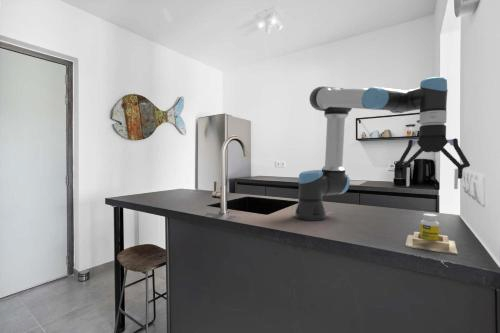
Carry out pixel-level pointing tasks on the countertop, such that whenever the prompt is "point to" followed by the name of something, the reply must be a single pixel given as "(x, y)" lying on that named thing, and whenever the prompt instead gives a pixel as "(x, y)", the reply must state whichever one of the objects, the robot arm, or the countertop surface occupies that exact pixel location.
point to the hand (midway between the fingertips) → (430, 187)
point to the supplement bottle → (429, 227)
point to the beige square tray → (431, 244)
